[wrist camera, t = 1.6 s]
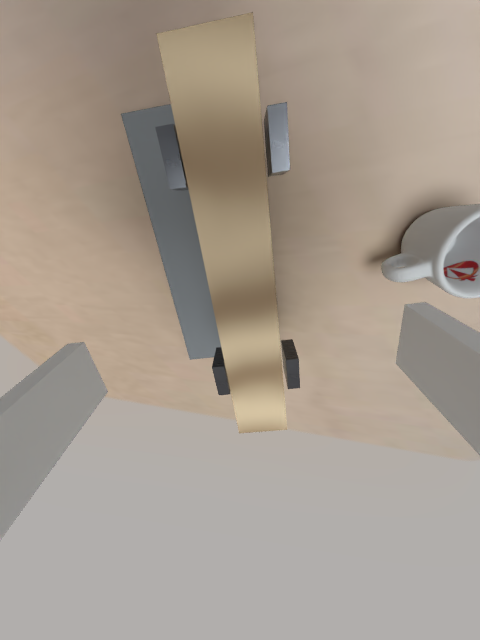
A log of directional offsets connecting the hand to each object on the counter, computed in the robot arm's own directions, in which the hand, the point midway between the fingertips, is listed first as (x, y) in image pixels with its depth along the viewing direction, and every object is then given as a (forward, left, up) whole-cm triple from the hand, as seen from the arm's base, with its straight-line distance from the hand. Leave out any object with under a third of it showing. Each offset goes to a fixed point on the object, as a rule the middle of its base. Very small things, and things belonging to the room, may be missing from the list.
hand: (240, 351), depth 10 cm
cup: (+2, +19, -21) cm, 28 cm away
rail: (0, 0, -11) cm, 11 cm away
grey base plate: (0, -7, -21) cm, 22 cm away
